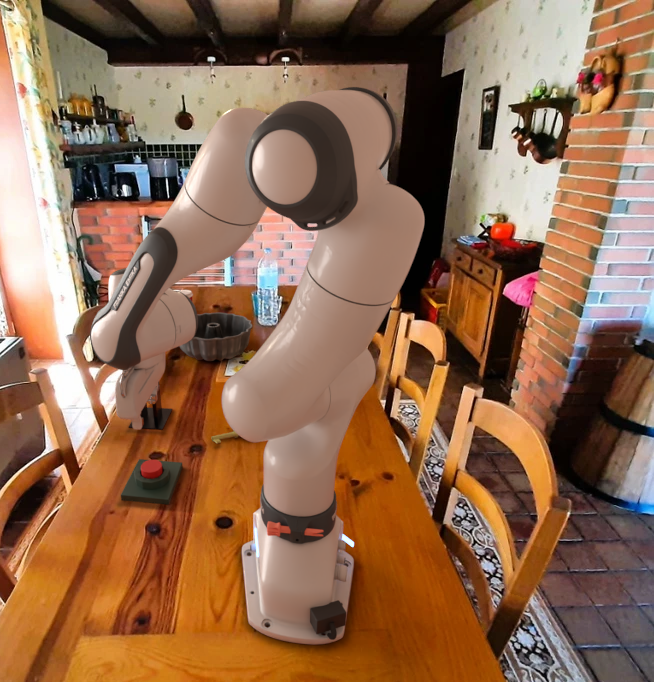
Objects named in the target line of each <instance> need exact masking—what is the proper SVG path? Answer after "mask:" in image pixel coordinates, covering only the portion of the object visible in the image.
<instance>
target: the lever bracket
mask: <svg viewBox="0 0 654 682" xmlns="http://www.w3.org/2000/svg"><path fill="white" fill-rule="evenodd" d="M172 412H173V408H166V407H162V395H161V386H160V381H159V382H158V390H157V401H156V403H155V404H151V406H150V407H148V402H146V404H145V406H144V408H143V409H142V411H141V414H140V416H141V418H143V422H144V425H143V427H142V428H141V429H140V430H155V431H163V430H164V428H165V426H166V424H167V422H168V420H169V417H170V416H171V413H172ZM128 429H133V426H132V421H130V423H129V425H128Z"/></svg>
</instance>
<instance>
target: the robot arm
mask: <svg viewBox="0 0 654 682" xmlns="http://www.w3.org/2000/svg"><path fill="white" fill-rule="evenodd" d="M397 139H398V120H397V117H396V113H395V111H394V109H393V107H392V106H391V104H390V103H389V101H388V100H387V99H385V97H384V96H382V95H381V94H380V93H378V92H376V91H374V90H371V89H368V88H364V87H359V86H350V87H349V86H348V87H344V88H340V89H337V90H335V89H327V90H321V91H317V92H314V93H311V94H308V95H305V96H304V97H302V98H299V99H297V100H294V101H290V102H287V103H285V104H283V105H281V106H279V107H277V108H276V109H275V110H273V111H272V112H270V113H269V114H267V113H266V112H264V111H261V110H260V109H259V110H258V109H256V108H251V107H236V108H233V109H229V110H227V111H226V112H224V113H223V114H222V115H221V116H220V117H219V118H218V119H217V120H216V122H215V123H214V125H213V126H212V128H211V129H210V131H209V132H208V134H207V136H206V137H205V139H204V140H203V142H202V143H201V146H200V148H199V149H198V151H197V152H196V154H195V157H194V159H193V161H192V163H191V165H190V168H189V170H188V172H187V175H186V176H185V179H184V182H183V183H182V186H181V189H180V190H179V192H178V194H177V196H176V197H175V199H174V201H173V202H172V203H171V205H170V207H169V209H168V210H167V211H166V213H165V214H164V215H163V217H162V218H161V219H160V220H159V222H158V223H157V224H156V226H154V228H153V229H151V230H150V231H149V233H148V234H147V236H145V238H144V239H143V240H142V241H141V242H140V244H139V246H138V247H137V249H136V251H135V253H134V254H133V256H132V257H131V259H130V261H129V263H128V265H127V267H124V268H120V269H116V270H115V271H113V272H112V273H111V274H110V275H109V278H108V285H107V286H108V287H107V289H108V301H107V304H105V306H104V307H102V308H100V310H98V311H97V313H96V315H95V316H94V319H93V321H92V324H91V328H90V334H89V337H90V339H89V340H90V345H91V347H92V350H93V352H94V353H95V356H96V357H97V358H98V359H99V361H101V362H102V363H104V364H106V365H107V366H109V367H112V368H114V369H116V370H120V371H121V372H120V374H119V376H118V377H117V378H116V381H115V386H114V390H115V392H114V395H115V411H116V416H117V417H118V418H119V419H120V420H129V421H130V422H132V426H133V428H132V429H133V430H139V431H140V430H142V429H141V428H142V427H143V425H144V422H143V418H141V416H140V414H141V411H142V409H143V408H144V406H145V404H146V402H147V404H148V405H152V404H155V403H156V401H157V390H158V382H159V383H160V380H161V378H162V377H163V375H164V374H165V371H166V353H167V352H169V351H171V350H173V349H176V348H178V347H179V346H181V345H183V344H185V343H187V342H188V341H191V340H192V339H193V338H194V336H195V334H196V331H197V327H198V316H197V315H198V311H197V308H196V305H195V304H194V302H193V300H192V301H191V299H190V298H189V297H187V296H186V295H185V294H183V293H181V292H179V290H174V289H172V287H173V286H174V285H175V284H176V283H178V282H180V281H181V280H183V279H185V278H187V277H189V276H191V275H193V274H194V273H197V272H199V271H202V270H204V269H206V268H209V267H211V266H213V265H216V264H218V263H221V262H222V261H225V260H227V259H228V258H230V257H232V256H233V255H234V254H236V253H237V252H238V251H239V250H240V249H241V248H242V247H243V245H244V244H245V243H246V242H247V241H248V240H249V238H251V236H252V234H253V233H254V232H255V230H256V228H257V226H258V225H259V223H260V221H261V219H262V218H263V216H264V214H265V213H266V210H267V208H268V209H270V210H271V211H273V212H275V213H276V214H278V215H280V216H282V217H284V218H287V219H290V220H291V221H292V222H293V223H294V224H295V225H296V226H297V227H298V228H300V229H301V230H304V231H306V232H307V231H308V232H317V234H316V238H315V242H314V244H313V247H312V249H311V252H310V254H309V257H308V259H307V262H306V264H305V268H304V270H303V272H302V275H301V277H300V280H299V282H298V285H297V287H296V289H295V292H294V294H293V296H292V300H291V302H290V304H289V306H288V308H287V309H286V311H285V313H284V315H283V316H282V318H281V319H280V321H279V322H278V324H277V325H276V327H275V328H274V329H273V331H272V332H271V333H270V334H269V336H268V337H267V339H266V340H265V341H264V342H263V343H262V345H261V346H260V347H259V349H258V350H257V351H256V352H255V353H254V355H253V356H252V357H251V358H250V359H249V360H248V361H247V362H246V363H245V364H244V365H243V366H242V367H240V369H239V370H237V371H236V372H235V373H233V375H231V376H230V377H229V378H227V379H226V381H225V382H224V385H223V389H222V393H221V408H222V412H223V416H224V419H225V421H226V422H227V424H228V426H229V427H230V428H231V429H232V431H233V432H234V431H235V432H236V433H237V434H238V435H239V436H238V437H241V438H242V439H244V440H245V441H247V442H250V443H255V444H256V443H261V442H266V444H265V447H264V450H263V455H262V456H263V484H262V485H261V489H260V490H261V491H260V497H259V498H260V500H259V501H260V502H259V504H260V507H259V508H258V509H256V510H255V511H254V512H253V513H252V518H253V519H252V522H253V525H252V526H253V528H252V529H253V532H252V533H253V534H252V535H253V537H252V539H253V540H250V541H248V542H245V543H244V544H243V545H242V547H241V562H242V572H243V580H244V581H243V582H244V583H243V584H244V593H245V603H246V614H247V621H248V624H249V625H250V627H252V628H253V629H254V630H256V631H257V632H259V633H261V634H263V635H265V636H267V637H270V638H272V639H275V640H279V641H284V642H287V643H288V642H289V643H294V644H301V645H325V644H330V643H334V642H336V641H339V640H341V639H343V637H344V635H345V630H346V624H347V617H348V611H349V603H350V597H351V590H352V583H353V576H354V568H355V559H354V557H353V556H352V555H351V554H349V552H346V548H347V544H348V545H349V546H350V547H352V548H354V546H355V542H354V541H353V540H352V539H350V538H349V537H348V536H346V535H345V534H344V521H343V520H342V519H341V518H340V517H339V516H338V515H337V511H338V501H337V493H336V490H335V483H336V473H337V465H338V457H339V453H340V450H341V447H342V443H343V440H344V438H345V436H346V433H347V431H348V428H349V426H350V423H351V421H352V419H353V416H354V415H355V412H356V410H357V408H358V406H359V404H360V403H361V401H362V400H363V398H364V397H365V395H366V394H367V393H368V391H370V389H371V388H372V386H373V384H374V383H375V379H376V373H377V372H376V364H375V360H374V358H373V354H372V353H371V351H370V350H369V349H368V347H369V345H370V344H371V342H372V341H373V339H374V337H375V336H376V334H377V332H378V330H379V329H380V327H381V325H382V323H383V321H384V319H385V318H386V316H387V314H388V312H389V311H390V309H391V307H392V305H393V304H394V302H395V300H396V298H397V296H398V294H399V292H400V290H401V289H402V286H403V285H404V283H405V280H406V278H407V277H408V274H409V272H410V270H411V267H412V264H413V263H414V260H415V257H416V254H417V252H418V248H419V246H420V242H421V239H422V237H423V232H424V228H425V213H424V210H423V208H422V205H421V204H420V202H419V201H418V200H417V199H416V198H415V197H414V196H413V195H412V194H411V193H410V192H408V191H407V190H405V189H403V188H402V187H399V186H397V185H395V184H392V183H390V181H388V180H387V179H386V178H385V177H384V175H383V173H382V170H383V168H385V166H386V164H387V163H388V161H389V160H390V158H391V156H392V155H393V152H394V150H395V147H396V143H397V141H398V140H397ZM309 224H311V225H316V226H308V225H309Z"/></svg>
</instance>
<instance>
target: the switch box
mask: <svg viewBox="0 0 654 682" xmlns="http://www.w3.org/2000/svg"><path fill="white" fill-rule="evenodd" d="M148 460H149V459H141V458H139V459H138V460H137V463H136V464H135V466H134V468H133V470H132V471H131V474H130V476H129V477H128V480H127V482H126V484H125V485H124V487H123V490H122V491H121V493H120V499H121V500H120V501H124V502H134V503H145V504H154V505H155V504H156V505H166V506H169V505H170V503H171V500H172V498H173V495H174V492H175V489H176V487H177V485H178V481H179V478H180V476H181V473H182V471H183V467H184V466H183V462H182V461H181V462H180V461H168V460H167V461H166V460H159V461H160V462H161V464H162V471H163V472H162V474H161V475H160V476H159V477H157V478H153V479H147V478H144V477H143V476H142V473H141V465H142V464H143V463H144V462H145V461H148Z"/></svg>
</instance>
